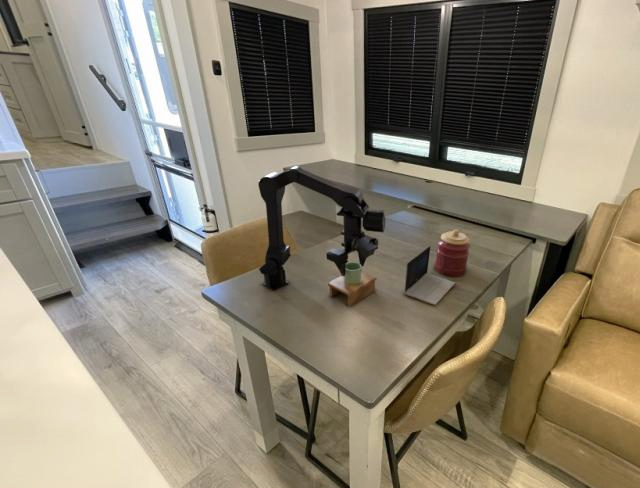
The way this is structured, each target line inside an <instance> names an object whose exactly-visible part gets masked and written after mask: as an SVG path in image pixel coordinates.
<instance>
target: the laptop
mask: <svg viewBox="0 0 640 488" xmlns="http://www.w3.org/2000/svg"><path fill="white" fill-rule="evenodd" d="M430 254H431V245H428V246H427V247H426V248H424V249H423V250H421V252H420V253H418V254H417V255H415V256H414V257H413V258H411V259H410V260H409V261H407V262H406V268H405V270H406V271H405V282H404V295H406V296H408V297H411V298H414V299H417V300H420V301H422V302H425V303H427V304H432V305H434V306H435V305H437V304H438V303H439V302H440V301H441V299H443V297H444V296H445V295H446V294H447V293H448V291H450V289H452V287H453V286H454V285H455V284H456V282H455V281H452V280H449V279H446V278H443V277H440V276H438V275H434V274H431V273H428V268H429V262H430Z"/></svg>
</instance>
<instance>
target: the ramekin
mask: <svg viewBox="0 0 640 488" xmlns="http://www.w3.org/2000/svg"><path fill="white" fill-rule="evenodd" d="M362 271H363V267H362V265H361V264H360V262H357V261H349V262H347V263H346V273H345V276H344V282H345V283H347V284H351V285H354V284H358V283H360V282H361V280H362Z"/></svg>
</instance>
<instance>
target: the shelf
mask: <svg viewBox="0 0 640 488" xmlns="http://www.w3.org/2000/svg"><path fill="white" fill-rule="evenodd" d="M376 281H377V276H375V275H372V274H370V273H368V272H366V271H363V270H362V280H361V282H360V283H358V284H354V285H351V284H347V283H345V282H344V276H342V275H340V276H338V277H336V278H334V279H333V280H330V281H328V282H327V285H328V286H329V296H330V297H331V298H332V297H335V296H337V295H338V294H339V293H343V294H344V295H346V296H347V306H348V307H352V306H353V305H354V304H356V303H357V302H359V301H360V300H362V299H364V298H365V297H367V296H369V295H370V294H371V293H373V292H375V290H376Z"/></svg>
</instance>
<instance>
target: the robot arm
mask: <svg viewBox="0 0 640 488" xmlns="http://www.w3.org/2000/svg"><path fill="white" fill-rule="evenodd" d="M293 183H296V184H298V185H300V186H302V187H305V188H307V189H309V190H312V191H314V192H316V193H318V194H321V195H323V196H325V197H327V198H329V199H331V200H332V201H333V202H334V203H335V204H336V205H337V206H339V207H341V208H340V209H339V210H338V211H337V213H336V216H339V217H342V218H343V230H341V231H340V234H341V235H342V236H343V241H342V242H341V243H340V246H341V247H343V249H340V248H339V247H334V248H332V249H330V250H328V251H326V253H325V254H326V260H327V261H330V262H332V263H334V265H335V266H336V268H337V269H338V271H339V273H340V274H341V275H340V276H345V273H346V263H348V262H350V261H349V260H348V259H349V255H350V254H352V253H355V252H357V256H358V263H360V264H361V265H362V268H363V267H364V266H365V263H366V261H367V258H369V257H371V256H373V255H374V254H375V252H376V250H378V249H379V239H378V238H377V237H372V236H371V235H367V234H366V233H365V231H366V232H374V233H385V229H386V220H387V219H386V214H385V210H382V209H380V210H379V209H378V210H376V209H375V210H374V209H370V206H369V204H368V203H367V201H366V200H365V198H364V194H363V192H362V190H360V188H358V187H353V186H349V185H342V184H339V183H338V184H337V183H334V182H333V181H330V180H328V179H326V178H323V177H321V176H319V175H318V174H317V175H316V174H314V173H312V172H310V171H308V170H306V169H304V168H302V166H298V165H296V166H293V167H291V168H289V169H287V170H285V171H282V172H280V173H279V172H271V173H269V174H267V175H264V176H263V177H261V178H260V179H259V180H258V183H257V185H258V190H259V194H260V197H261V198H262V200H263V202H264V204H265V211H266V212H265V213H266V224H267V225H266V226H267V237H268V246H267V249H266V252H265V258H264V263H263V264H262V265H261V266H260V267H259V268H258V270H259V271H260V274H261V275H263V279H264V281H263V282H262V285H263V286H265V287H266V288H268V289H270V290H271V291H275V290H277V289H280V288H281V287H283V286H286V285H288V284H289V281H287V276H286V270H285V269H284V265H285V264H286V263H287V262H288V261H289V259H290V258H291V256H292V254H291V245H286V243H285V241H284V224H283V223H284V222H283V207H282V206H283V205H282V201H283V200H284V196H285V193H286V186H288V185H291V184H293ZM362 228H363V229H362ZM363 230H364V231H363Z"/></svg>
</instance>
